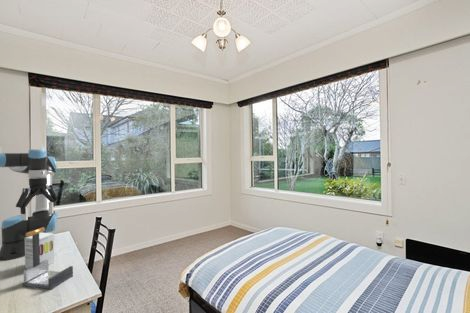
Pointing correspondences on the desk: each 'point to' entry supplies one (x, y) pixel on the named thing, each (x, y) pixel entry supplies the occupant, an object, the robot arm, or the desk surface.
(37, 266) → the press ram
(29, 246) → the supplement box
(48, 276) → the press bed
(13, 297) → the desk surface
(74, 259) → the desk surface
